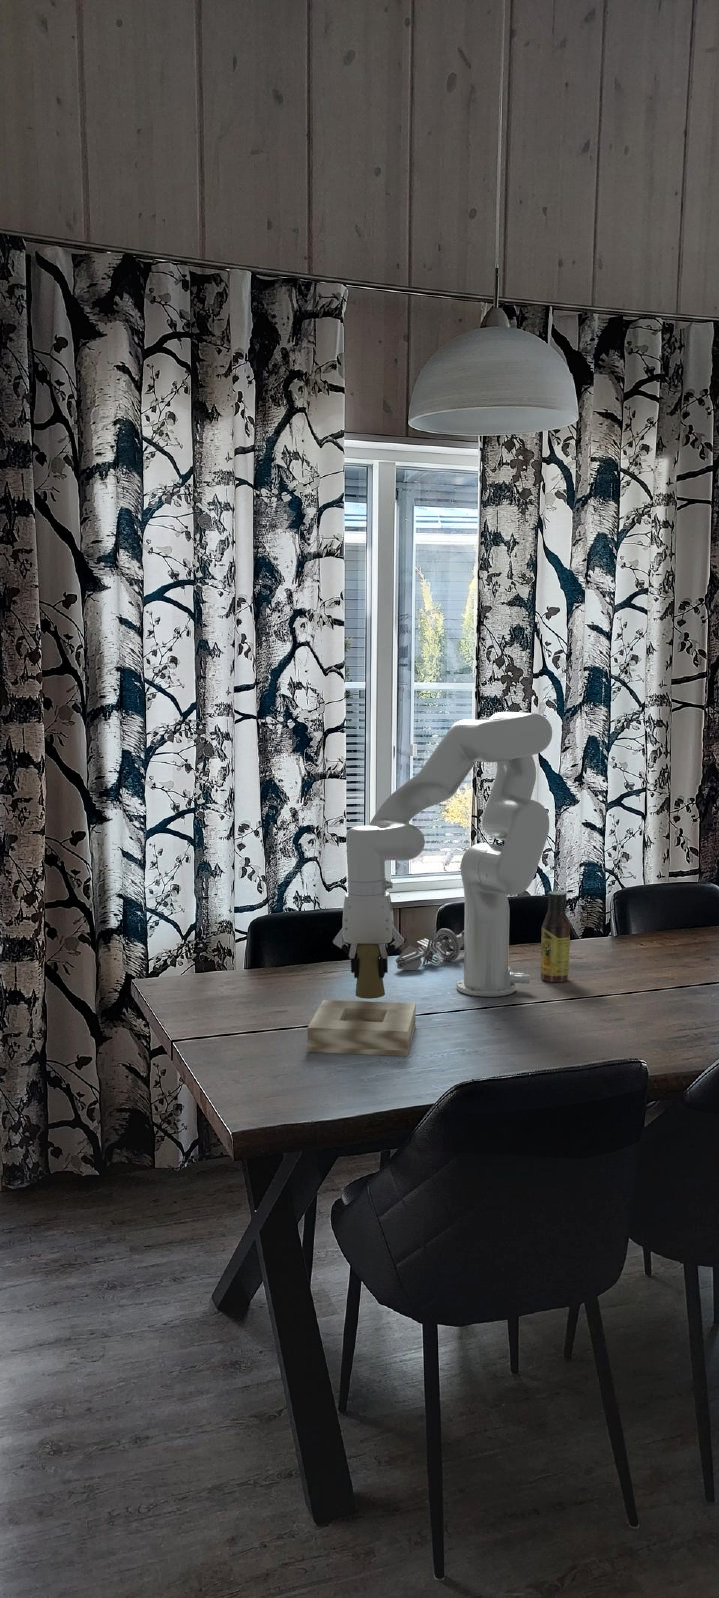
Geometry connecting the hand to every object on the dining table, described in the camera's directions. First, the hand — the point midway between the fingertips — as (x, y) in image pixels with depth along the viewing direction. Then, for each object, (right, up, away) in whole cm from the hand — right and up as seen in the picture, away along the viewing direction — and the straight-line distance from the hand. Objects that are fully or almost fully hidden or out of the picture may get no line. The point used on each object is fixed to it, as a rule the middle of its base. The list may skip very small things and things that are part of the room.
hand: (369, 975), depth 235 cm
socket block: (-1, -9, -19) cm, 21 cm away
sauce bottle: (+41, -5, +23) cm, 48 cm away
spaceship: (+19, -3, +40) cm, 45 cm away
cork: (0, -4, +1) cm, 4 cm away
